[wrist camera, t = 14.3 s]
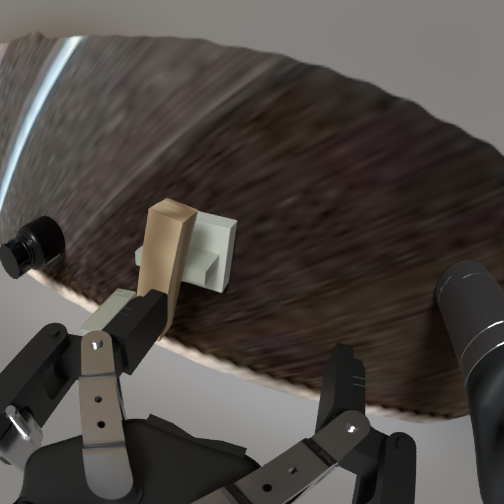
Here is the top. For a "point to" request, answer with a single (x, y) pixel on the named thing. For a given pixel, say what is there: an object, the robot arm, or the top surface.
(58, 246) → the ink bottle
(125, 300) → the skincare box
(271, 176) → the top surface
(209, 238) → the fulcrum
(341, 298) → the top surface
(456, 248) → the top surface
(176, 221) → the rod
